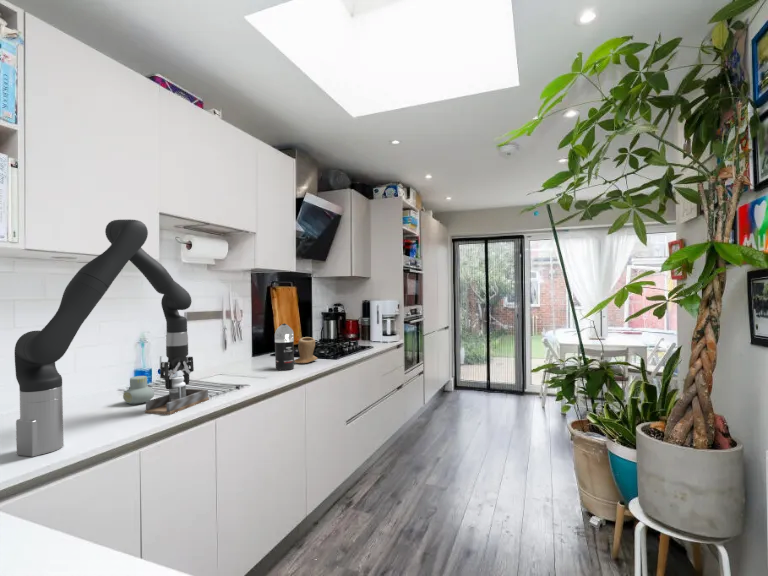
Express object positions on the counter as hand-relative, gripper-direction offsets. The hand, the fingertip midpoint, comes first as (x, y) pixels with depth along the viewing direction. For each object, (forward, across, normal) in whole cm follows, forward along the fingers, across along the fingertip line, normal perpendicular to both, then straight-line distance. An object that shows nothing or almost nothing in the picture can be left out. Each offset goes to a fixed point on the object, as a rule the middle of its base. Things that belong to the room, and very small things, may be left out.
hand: (177, 386), depth 157 cm
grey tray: (+7, 0, 0) cm, 7 cm away
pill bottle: (+7, 0, 0) cm, 7 cm away
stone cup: (+7, +94, -7) cm, 95 cm away
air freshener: (+8, +1, +20) cm, 21 cm away
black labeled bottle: (+7, +73, -4) cm, 74 cm away
